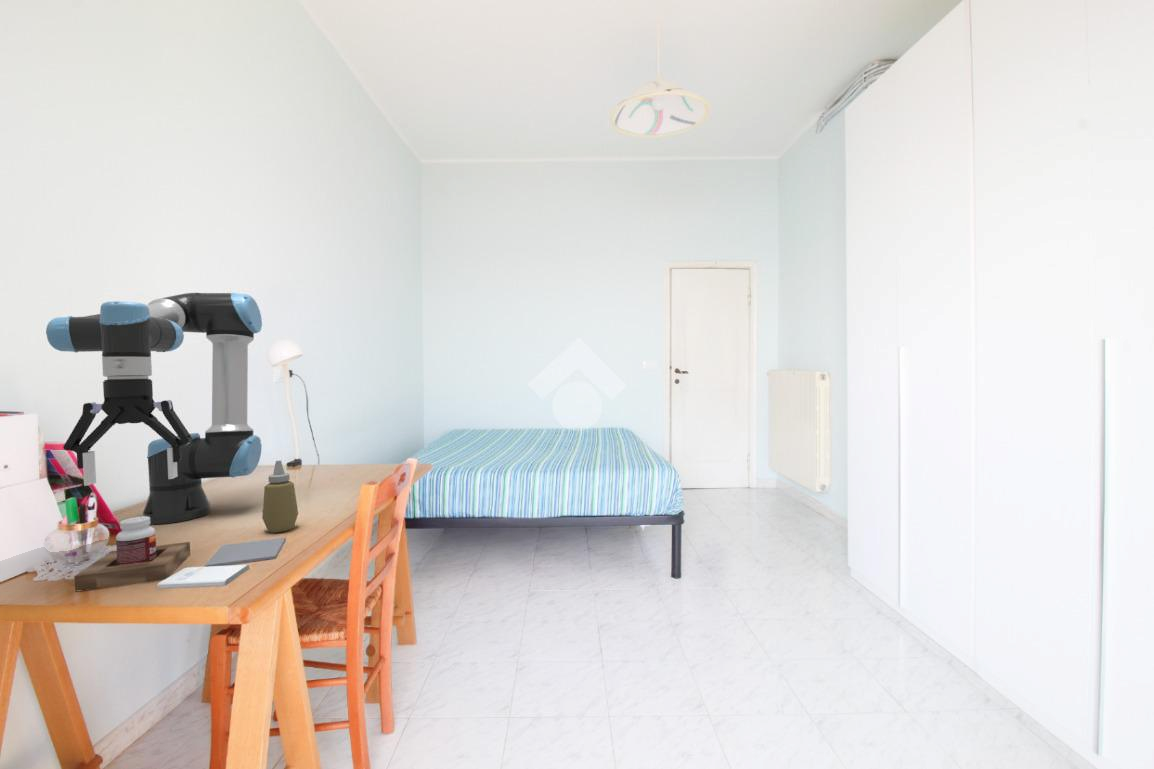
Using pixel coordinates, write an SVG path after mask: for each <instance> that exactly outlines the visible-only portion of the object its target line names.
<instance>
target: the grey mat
mask: <svg viewBox="0 0 1154 769" xmlns="http://www.w3.org/2000/svg"><path fill="white" fill-rule="evenodd" d="M286 539H287V538H286V537H285V536H284V537H277V538H270V539H269V538H268V539H261V540H254V541H253V540H252V541H244V542H237V543H229V544H221V546H220V547H219V548H218V549H217V550H216V552H215V553H214V554H213V555H212V556H211V557H210V558H209V560H208V561H207V562H205V564H204V566H203V567H209V566H231V565H240V564H245V563H252V562H253V561H254V562H259V561H258V560H261V561H267V560H266V559H269V560H276V559H277V557H278V555H279V553H280V551H281V549H282V548H281V547H283V545H284V544H285V542H286ZM275 558H276V559H275ZM254 562H253V563H254Z"/></svg>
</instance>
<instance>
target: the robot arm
mask: <svg viewBox="0 0 1154 769" xmlns="http://www.w3.org/2000/svg"><path fill="white" fill-rule="evenodd" d="M262 320H263V319H262V314H261V311H260V308H259V306H258V303H257V301H256V300H255V298H253V297H252V296H251V295H249V294H246V293H235V292H187V293H181V294H175V295H170V296H167V297H161V298H157V299H153V300H152V301H150V302H149V303H148V304H145V303H141V302H135V301H134V302H133V301H121V300H119V301H118V300H117V301H114V300H113V301H112V300H111V301H105V302H103V303H102V304H101V305H100V308H99V313H98V314H97V313H96V314H91V315H85V316H72V315H68V316H59V317H58V316H57V317H54V318H52V319H51V320H50V321H49V322H48V323H47V326H46V328H45V329H46V330H45V334H46V340H47V341H48V343H49V345H50V347H52V348H53V349H54V350H57V351H59V352H71V353H79V352H80V353H81V352H83V353H85V352H86V353H87V352H102V353H101V360H102V362H101V363H102V364H101V365H102V376H103V377H107V378H106V379H104V381H102V387H103V388H102V389H103V399H104V401H103V402H102V403H97V402H84V403H83V405H82V414H81V415H80V417H79V419H78V421H77V422H76V424H75V426H74V428H73V430H72V431H71V433H70V434H69V436H68V438H67V439H66V441H65V443H64V444H63V447H62V449H63V450H65V451H70V452H74V453H75V454H76V465H77V469H79V470H80V469H82V470H83V486H84V487H86V486H91V485H94V484H96V483H97V472H96V453H95V452H96V451H95V450H91V448H93V447H94V445H95V444H96V443H98V442H99V440H101V438H102V437H103V436H104V435H105V434H106V433H107V432H108V431H109V430H110V429H111V428H112V427H113V426H114V425H116V424H118V425H124V424H139V423H143V424H145V425H146V426H148V427H149V428H150V429H151V430H153V431H154V432H155V433H156V435H159V437H161V438H159V439H154V440H152V441H151V442H149V444H148V446H147V455H146V458H147V466H148V467H147V468H148V485H149V494H148V498H147V500H146V503H145V506H144V509H143V511H142V517H143V516H147V517H150V522H151V523H150V524H149V525H163V524H172V523H179V522H185V521H189V520H193V519H198V518H201V517H204V516H206V515H208V514H209V513H210V512H211V504H210V501H209V499H208V497H207V494H206V492H205V490H204V489H203V486H202V483H203V482H202V479H216V478H217V479H218V478H237V477H245V476H249V475H251V474H252V473H253V472H254V471H255V470H256V469H257V467H258V465H259V462H260V459H261V455H262V445H263V444H262V441H261V438H260V437H259V436H258V435H254V429H253V427H251V426H249V424H248V382H249V381H248V377H249V376H248V375H249V374H248V368H249V367H248V364H249V363H248V362H249V361H248V358H249V353H248V350H249V348H248V347H249V345H250V344H251V343H252V342H253V341H254V339H255V338H254V337H255V335H254V334H258V333H260V332H261V330H262V327H263V322H262ZM184 333H203V334H204V333H205V334H206V335H205V336H206V339H208V341H210V342H211V344H212V357H211V358H212V362H211V363H212V365H211V366H212V368H211V369H212V370H211V372H212V375H211V377H212V378H211V379H212V381H211V386H212V387H211V392H212V393H211V426H210V427H208V428H207V430H204V431H205V434H204V437H201V435H200V434H199V432H196V433H195V432H193V433H190V432H189V431H188V429H187V428H186V427H185V425H184V423H183V422H182V421H181V419H180V417H179V416H178V414H177V413H176V411H175V410H174V405H173V402H172V400H170V399H166V400H162V401H157V402H155V401H154V398H153V397H154V391H153V380H152V379H151V378H149V377H151V376H152V375H153V370H152V369H153V367H152V353H151V352H157V353H166V352H173V351H175V350H177V349H178V348H180V347H181V346H182V344H183V342H184V339H185V338H184V337H185V335H184ZM156 408H157V410H158V411H159V412H162V414H163V416H164V418H165V419H166V421H167V422H168V424H169V425H170V426H171V428H172V429H173V431H174V433H175V434H174V433H173V432H172V430H170V429H168V427H166V426H165V425H164V424H163V423H162V422H161V421H160V420H159V419H158V418H157V417H156V416H155V415H154V414H153V412H154V410H155V409H156ZM101 410H102V411H103V413H105V414H106V415H107V416H105V418H103V419H102V420H101V422H100V423H99V424H98V425H97V427H96V428H95V429H94V430H93V431H92V432H91V433H89V435H87V437H85V435H86V433H87V432H88V430H89V429H90V426H91V425H92V423H93V421H94V419H95V418H96V416H97V414H99V413H100V411H101ZM84 437H85V438H84ZM83 438H84V439H83Z"/></svg>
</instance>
